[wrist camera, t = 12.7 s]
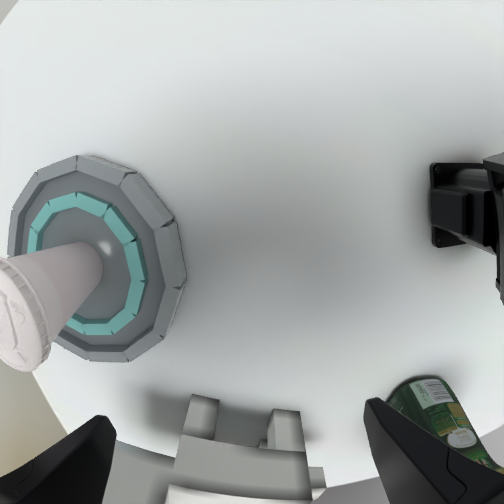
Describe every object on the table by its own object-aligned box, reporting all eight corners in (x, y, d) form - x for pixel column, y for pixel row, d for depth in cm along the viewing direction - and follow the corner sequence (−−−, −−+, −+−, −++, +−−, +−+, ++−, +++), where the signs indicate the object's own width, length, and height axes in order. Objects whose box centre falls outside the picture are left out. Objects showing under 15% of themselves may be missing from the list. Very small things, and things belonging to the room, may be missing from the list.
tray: (163, 135, 18) (153, 132, 16) (203, 346, 22) (199, 361, 20) (9, 187, 19) (-6, 189, 17) (54, 347, 23) (43, 357, 21)
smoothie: (46, 276, 20) (-75, 358, 6) (66, 208, 18) (-91, 261, 5) (104, 318, 21) (0, 440, 7) (131, 252, 19) (-14, 364, 6)
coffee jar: (414, 433, 26) (466, 549, 8) (359, 438, 26) (401, 578, 8) (454, 372, 23) (541, 492, 6) (399, 372, 23) (486, 533, 5)
